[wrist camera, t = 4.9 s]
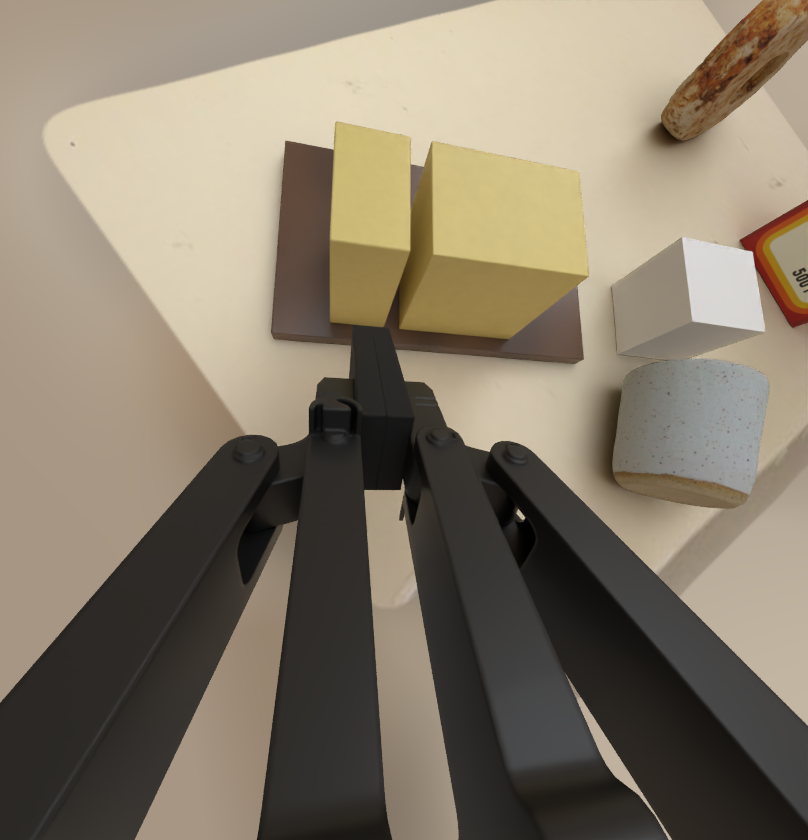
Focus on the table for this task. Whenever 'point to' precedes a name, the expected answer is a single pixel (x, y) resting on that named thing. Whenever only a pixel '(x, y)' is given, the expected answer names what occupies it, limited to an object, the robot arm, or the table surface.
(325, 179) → the butter board
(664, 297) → the white cube
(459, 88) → the table surface
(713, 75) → the stone disc
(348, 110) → the table surface
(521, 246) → the butter block
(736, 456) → the ceramic mug
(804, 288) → the baking soda box
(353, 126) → the block
